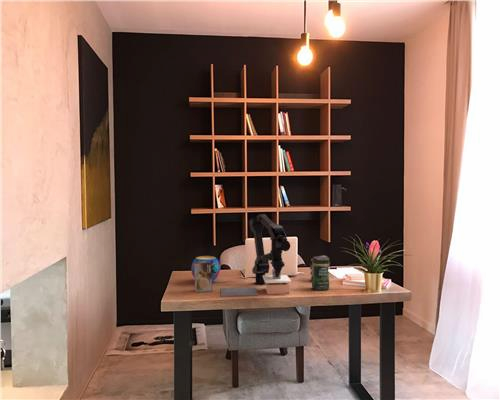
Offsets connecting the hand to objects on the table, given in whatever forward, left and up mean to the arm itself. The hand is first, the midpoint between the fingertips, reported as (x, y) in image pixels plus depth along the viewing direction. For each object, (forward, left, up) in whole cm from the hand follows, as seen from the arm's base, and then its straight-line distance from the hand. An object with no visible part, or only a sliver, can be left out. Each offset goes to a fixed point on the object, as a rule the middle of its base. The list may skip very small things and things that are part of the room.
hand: (276, 276), depth 234 cm
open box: (0, 0, -8) cm, 8 cm away
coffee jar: (-17, +20, -8) cm, 27 cm away
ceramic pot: (+2, -47, -8) cm, 48 cm away
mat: (+12, -17, -8) cm, 23 cm away
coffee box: (+19, -36, -8) cm, 42 cm away
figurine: (-36, +12, -8) cm, 39 cm away
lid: (0, 0, -2) cm, 2 cm away
